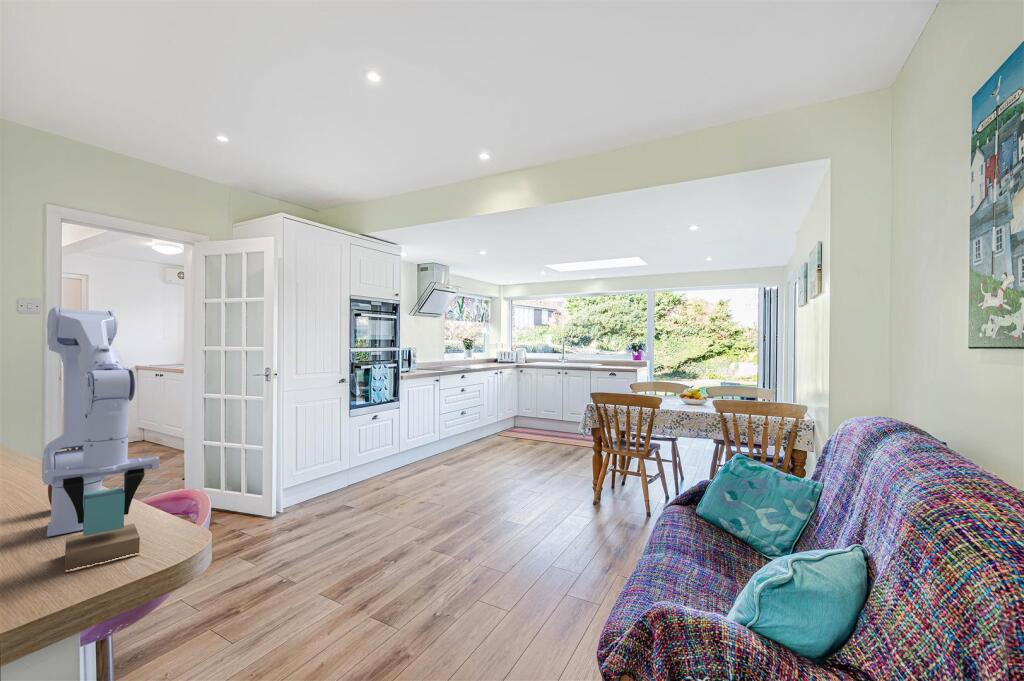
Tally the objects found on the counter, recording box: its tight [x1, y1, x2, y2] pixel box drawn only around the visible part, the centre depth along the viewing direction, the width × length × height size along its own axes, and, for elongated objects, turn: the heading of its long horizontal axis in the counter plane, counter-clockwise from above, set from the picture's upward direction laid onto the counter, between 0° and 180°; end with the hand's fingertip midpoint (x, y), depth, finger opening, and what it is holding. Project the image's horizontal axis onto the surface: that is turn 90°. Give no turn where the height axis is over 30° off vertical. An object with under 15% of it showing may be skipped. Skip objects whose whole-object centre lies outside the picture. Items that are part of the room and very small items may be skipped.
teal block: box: [82, 486, 125, 536], centre depth 76 cm, size 5×5×6 cm
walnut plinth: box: [64, 523, 141, 571], centre depth 76 cm, size 9×9×3 cm
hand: (103, 517), depth 76 cm, fingers closed on teal block, 5 cm apart
